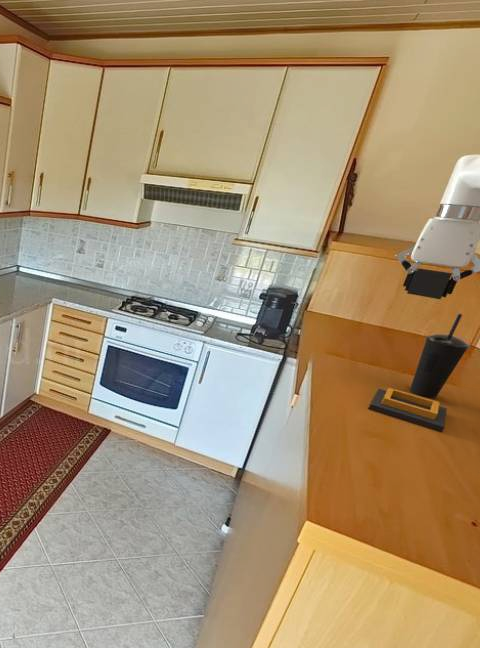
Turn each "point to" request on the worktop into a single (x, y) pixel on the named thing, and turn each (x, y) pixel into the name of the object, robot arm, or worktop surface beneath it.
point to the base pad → (410, 408)
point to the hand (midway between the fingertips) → (425, 292)
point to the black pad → (429, 283)
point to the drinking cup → (437, 362)
